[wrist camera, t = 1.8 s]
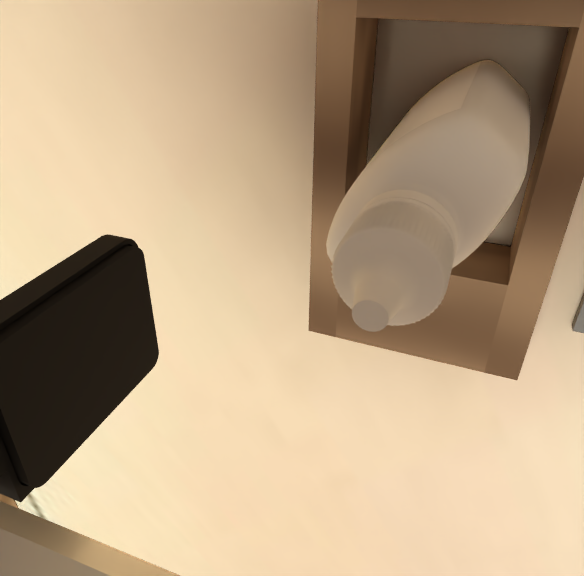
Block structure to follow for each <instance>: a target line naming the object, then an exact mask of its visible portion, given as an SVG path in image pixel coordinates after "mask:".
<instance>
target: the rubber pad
mask: <svg viewBox="0 0 584 576" xmlns="http://www.w3.org/2000/svg"><path fill="white" fill-rule="evenodd" d="M572 330H573V331H576V332H581V333H584V295H583V297H582V300H581V303H580V305H579V308H578V311H577V313H576V316H575V319H574V321H573V324H572Z"/></svg>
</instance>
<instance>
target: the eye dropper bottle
mask: <svg viewBox="0 0 584 576" xmlns="http://www.w3.org/2000/svg"><path fill="white" fill-rule="evenodd" d="M529 139H530V99H529V97H528V95H527V92H526V91H525V90H524V89H523V88H522V87H521V85H520V84H519V83H518V82H517V81H516V80H515V79H514V78H513V77H512V76H511V75H510V74H509V73H508V72H507V71H506V70H505V69H504V68H503V67H501V66H500V65H499V64H498V63H496V62H494V61H492V60H484V61H479V62H477V63H474V64H471V65H469V66H467V67H465V68H463V69H461V70H459V71H458V72H456V73H454V74H452V75H451V76H449V77H448V78H446V79H444V80H443V81H442V82H440V83H439V84H437V85H436V86H435V87H433V88H432V89H431V90H430V91H428V92H427V93H426V94H425V95H424V96H423V97H422V98H421V99H420V100H419V101H418V102H417V103H416V104H415V105H414V106H413V107H412V108H411V109H410V110H409V111H408V112H407V114H406V115H405V116H404V117H403V119H402V120H401V121H400V123H399V124H398V125H397V126H396V128H395V129H394V130H393V132H392V133H391V134H390V136H389V137H388V138H387V140H386V141H385V142H384V143H383V145H382V146H381V147H380V149H379V150H378V151H377V153H376V154H375V155H374V157H373V158H372V159H371V160H370V162H369V163H368V164H367V166H366V167H365V168H364V170H363V171H362V172H361V174H360V175H359V176H358V178H357V179H356V180H355V182H354V183H353V185H352V186H351V188H350V189H349V190H348V192H347V194H346V195H345V197H344V199H343V200H342V202H341V204H340V206H339V208H338V210H337V212H336V214H335V216H334V219H333V221H332V224H331V227H330V230H329V233H328V238H327V242H326V247H327V255H328V256H329V258H330V260H331V262H332V266H331V268H332V271H331V272H332V274H333V275H332V278H333V280H334V281H333V283H334V284H335V288H336V289H337V292H338V293H339V295H340V297H341V298H342V299H343V301H344V302H345V303H346V305H347V306H349V307H350V309H352V318H353V320H354V322H355V323H356V324H357V325H358V326H359V327H360V328H362V329H364V330H366V331H371V332H375V331H380V330H382V329H384V328H385V327H386V326H387V325H391V326H394V325H396V326H399V325H405V324H410V323H415V322H416V321H421V319H425V318H426V316H430V313H433V312H434V310H435V309H437V308H438V305H440V304H441V301H442V300H443V299H444V295H445V294H446V290H447V287H448V283H449V279H450V275H451V271H452V268H454V267H455V266H457V265H458V264H459V263H461V262H462V261H463V260H464V259H466V258H467V257H468V256H469V255H470V254H471V253H472V252H474V251H475V250H476V249H477V248H478V247H479V246H480V245H481V244H482V243H483V242H484V240H485V239H486V238H487V237H488V236H489V235H490V234H491V232H492V231H493V230H494V229H495V228H496V226H497V225H498V224H499V222H500V221H501V219H502V218H503V217H504V215H505V213H506V212H507V210H508V209H509V207H510V206H511V204H512V203H513V201H514V199H515V197H516V195H517V193H518V192H519V190H520V187H521V185H522V183H523V180H524V178H525V175H526V172H527V164H528V155H529Z"/></svg>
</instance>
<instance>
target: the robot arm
mask: <svg viewBox="0 0 584 576" xmlns="http://www.w3.org/2000/svg"><path fill="white" fill-rule="evenodd" d="M158 355H159V350H158V343H157V337H156V330H155V324H154V318H153V311H152V305H151V298H150V292H149V285H148V279H147V272H146V266H145V259H144V254H143V252H142V250H141V249H140V248H138V245H137V244H136V242H135V241H134V240H132V239H128V238H123V237H118V236H113V235H104V236H101V237H100V238H98V239H97V240H95V241H93V242H92V243H90V244H89V245H87V246H85V247H84V248H82V249H81V250H79V251H78V252H76V253H74V254H73V255H71V256H70V257H68V258H66V259H65V260H63V261H62V262H60V263H58V264H57V265H55V266H54V267H52V268H51V269H49V270H47V271H46V272H44V273H43V274H41V275H39V276H38V277H36V278H35V279H33V280H31V281H30V282H28V283H27V284H25V285H24V286H22V287H20V288H19V289H17V290H16V291H14V292H12V293H11V294H9V295H8V296H6V297H5V298H3V299H1V300H0V494H2V495H4V496H7V497H9V498H12V499H14V500H16V501H19V502H22V501H23V500H24V499H25V497H26V496H27V495H28V494H29V493H30V492H31V491H32V490H33V489H34V488H37V487H40V486H42V485H44V484H45V483H46V482H47V481H48V480H49V479H50V478H51V477H52V476H53V475H54V473H55V472H56V471H57V470H58V469H59V468H60V467H61V466H62V465H63V464H64V463H65V462H66V461H67V460H68V458H69V457H70V456H71V455H72V454H73V453H74V452H75V451H76V450H77V449H78V448H79V447H80V446H81V445H82V444H83V442H84V441H85V440H86V439H87V438H88V437H89V436H90V435H91V434H92V433H93V432H94V431H95V430H96V429H97V427H98V426H99V425H100V424H101V423H102V422H103V421H104V420H105V419H106V418H107V417H108V416H109V415H110V414H111V412H112V411H113V410H114V409H115V408H116V407H117V406H118V405H119V404H120V403H121V402H122V401H123V400H124V399H125V397H126V396H127V395H128V394H129V393H130V392H131V391H132V390H133V389H134V388H135V387H136V386H137V385H138V384H139V382H140V381H141V380H142V379H143V378H144V377H145V376H146V375H147V374H148V373H149V372H150V371H151V370H152V369H153V367H154V366H155V364H156V362H157V359H158ZM0 576H180V575H177V574H175V573H173V572H170V571H168V570H165V569H163V568H161V567H158V566H156V565H153V564H151V563H149V562H146V561H144V560H142V559H139V558H137V557H134V556H132V555H130V554H127V553H125V552H122V551H120V550H118V549H115V548H113V547H110V546H108V545H106V544H103V543H101V542H98V541H96V540H94V539H91V538H89V537H86V536H84V535H82V534H79V533H77V532H74V531H72V530H69V529H67V528H65V527H62V526H60V525H57V524H55V523H52V522H50V521H48V520H45V519H43V518H40V517H38V516H35V515H33V514H31V513H28V512H26V511H23V510H21V509H18V508H16V507H14V506H11V505H9V504H6V503H4V502H1V501H0Z"/></svg>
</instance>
